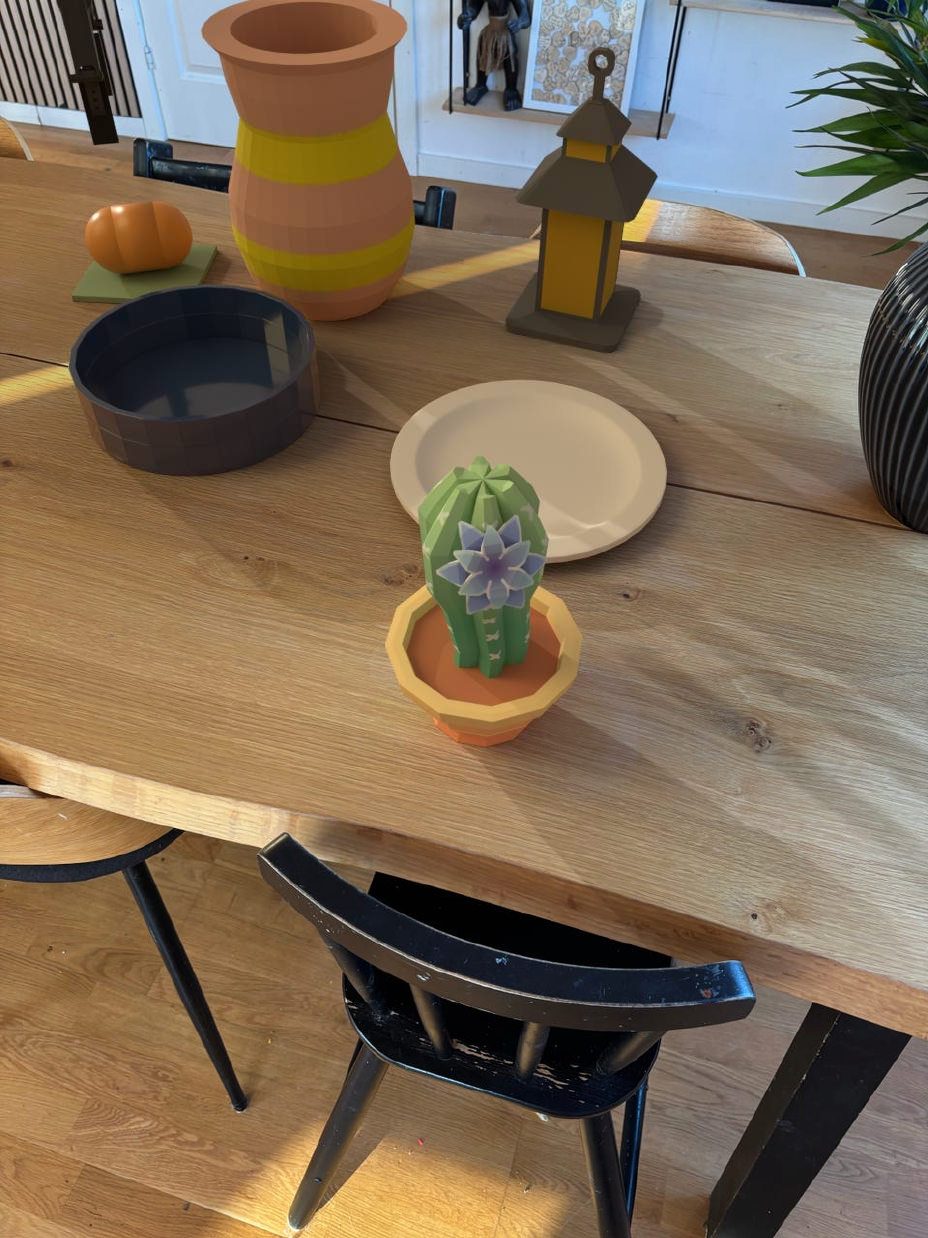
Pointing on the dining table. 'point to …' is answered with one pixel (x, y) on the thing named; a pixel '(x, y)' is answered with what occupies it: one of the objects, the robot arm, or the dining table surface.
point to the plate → (541, 458)
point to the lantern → (583, 227)
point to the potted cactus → (483, 611)
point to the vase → (316, 151)
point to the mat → (143, 278)
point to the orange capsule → (138, 237)
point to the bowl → (197, 378)
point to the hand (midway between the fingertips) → (103, 118)
